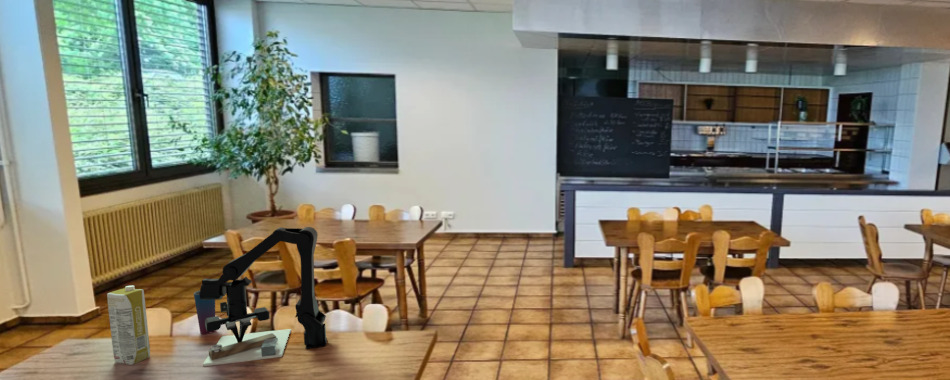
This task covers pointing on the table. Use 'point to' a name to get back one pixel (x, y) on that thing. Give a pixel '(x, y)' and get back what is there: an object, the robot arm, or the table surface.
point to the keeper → (269, 347)
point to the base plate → (250, 353)
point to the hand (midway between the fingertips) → (239, 343)
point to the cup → (204, 311)
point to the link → (240, 346)
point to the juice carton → (128, 325)
